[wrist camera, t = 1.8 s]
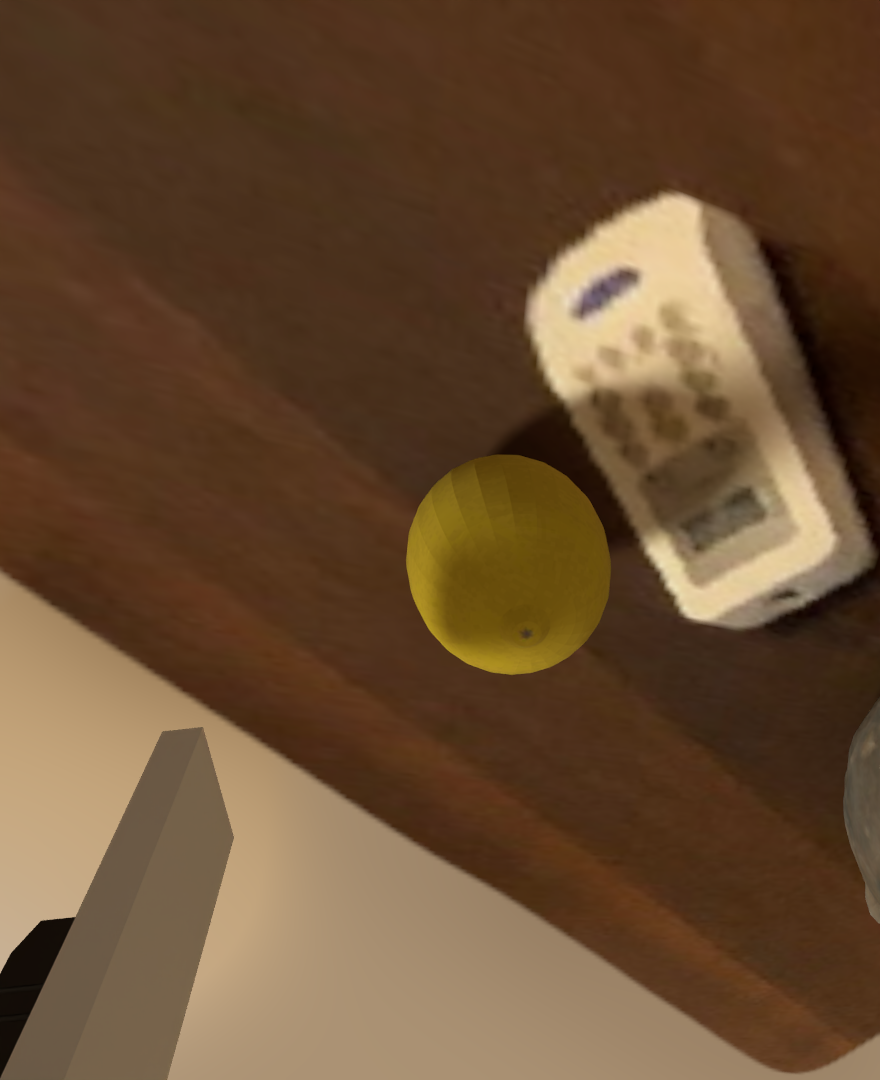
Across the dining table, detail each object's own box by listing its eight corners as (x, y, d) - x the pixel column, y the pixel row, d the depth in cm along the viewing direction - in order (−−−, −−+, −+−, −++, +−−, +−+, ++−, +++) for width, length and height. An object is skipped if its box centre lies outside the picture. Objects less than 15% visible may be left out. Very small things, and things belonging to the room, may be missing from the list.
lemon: (597, 442, 24) (681, 552, 17) (547, 593, 26) (602, 748, 19) (427, 404, 23) (436, 502, 16) (390, 563, 25) (384, 712, 18)
